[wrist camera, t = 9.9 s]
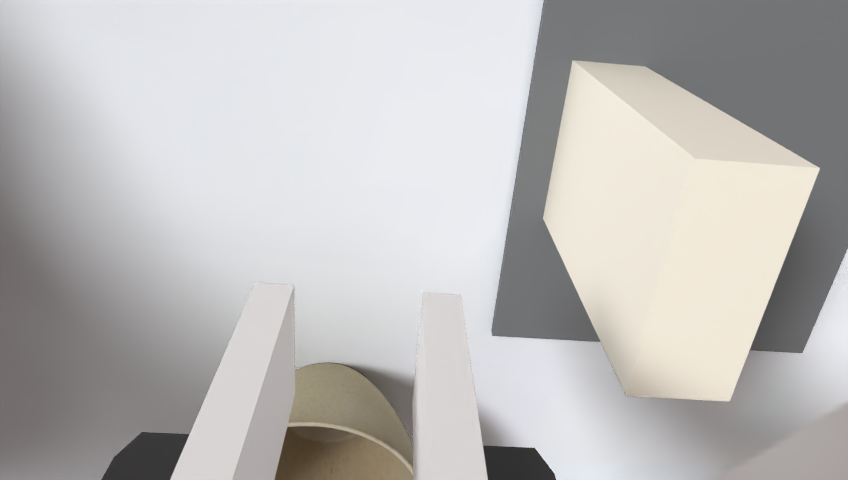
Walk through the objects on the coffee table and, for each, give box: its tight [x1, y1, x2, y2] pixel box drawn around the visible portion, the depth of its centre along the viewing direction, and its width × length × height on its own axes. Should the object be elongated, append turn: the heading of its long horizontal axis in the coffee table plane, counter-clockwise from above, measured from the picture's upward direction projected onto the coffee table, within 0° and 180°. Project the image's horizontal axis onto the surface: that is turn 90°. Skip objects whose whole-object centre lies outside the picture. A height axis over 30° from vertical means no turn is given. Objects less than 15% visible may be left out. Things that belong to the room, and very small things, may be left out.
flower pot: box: [274, 363, 413, 480], centre depth 30 cm, size 10×10×7 cm
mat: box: [492, 0, 848, 353], centre depth 27 cm, size 16×22×1 cm
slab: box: [543, 60, 820, 402], centre depth 21 cm, size 3×7×12 cm, turn 175°
